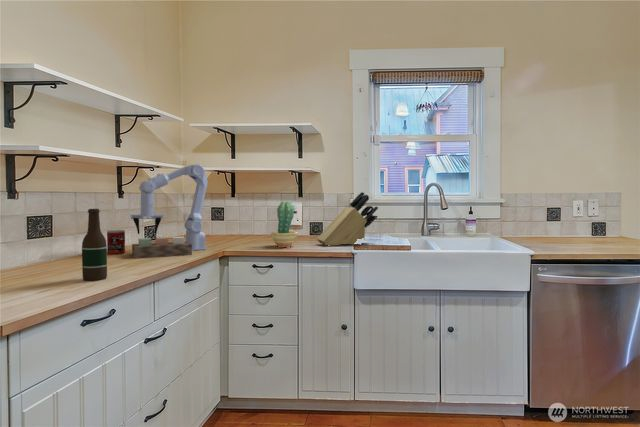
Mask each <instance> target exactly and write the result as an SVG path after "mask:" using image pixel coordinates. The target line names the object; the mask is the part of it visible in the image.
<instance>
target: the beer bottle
mask: <svg viewBox="0 0 640 427" xmlns="http://www.w3.org/2000/svg"><path fill="white" fill-rule="evenodd" d="M87 213H88V221H87V222H88V223H87V232H86V234H85V236H84V237H83V240H82V242H81V261H82V262H81V263H82V264H81V265H82V266H81V267H82V268H81V269H82V270H81V271H82V280H83V281H85V282H95V281H96V282H97V281H99V282H100V281H103V280H106V279H107V277H108V256H107V254H108V252H107V238H106V237H105V235H104V234H103V233H102V230H101V223H100V208H88V209H87Z"/></svg>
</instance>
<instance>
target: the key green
mask: <svg viewBox="0 0 640 427" xmlns="http://www.w3.org/2000/svg"><path fill="white" fill-rule="evenodd" d="M151 243H152V238H151V237H143V238H142V237H141V238H138V244H139V246H146V245H149V246H151Z"/></svg>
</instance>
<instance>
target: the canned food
mask: <svg viewBox="0 0 640 427" xmlns="http://www.w3.org/2000/svg"><path fill="white" fill-rule="evenodd" d="M106 237H107V238H106V245H107V254H108V255H122V254H123V255H124V254H125V252H126V231H125V229H124V230H123V229H115V230H114V229H112V230H107V231H106Z"/></svg>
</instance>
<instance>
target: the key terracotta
mask: <svg viewBox="0 0 640 427" xmlns="http://www.w3.org/2000/svg"><path fill="white" fill-rule="evenodd" d="M168 242H169V238H168V237H167V236H166V237H164V236H163V237H162V236H161V237H155V243H156V245H168Z"/></svg>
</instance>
